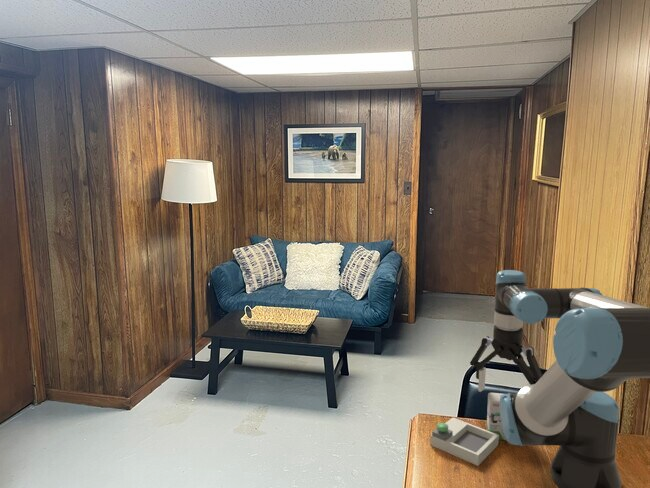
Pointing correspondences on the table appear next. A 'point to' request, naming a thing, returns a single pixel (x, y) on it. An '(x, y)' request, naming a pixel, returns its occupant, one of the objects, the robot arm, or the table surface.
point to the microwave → (465, 441)
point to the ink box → (494, 415)
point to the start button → (442, 427)
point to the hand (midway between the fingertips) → (504, 397)
